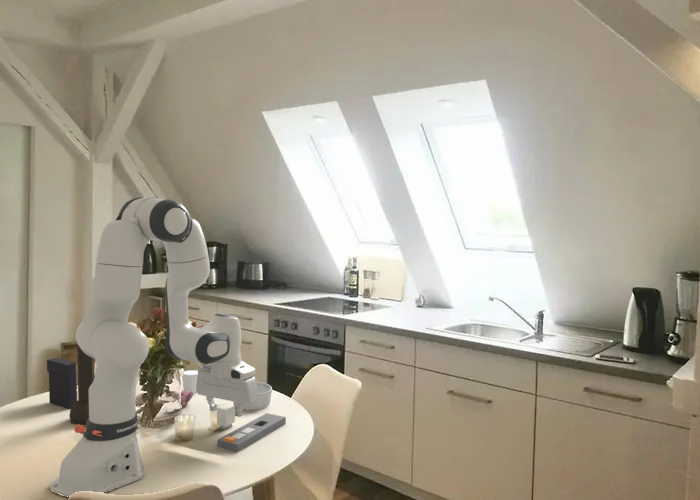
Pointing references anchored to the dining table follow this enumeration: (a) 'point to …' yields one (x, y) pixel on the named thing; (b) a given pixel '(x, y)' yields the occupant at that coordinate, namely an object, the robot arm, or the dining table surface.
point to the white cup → (190, 380)
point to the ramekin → (259, 397)
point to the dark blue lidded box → (62, 382)
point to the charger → (225, 416)
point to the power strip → (251, 432)
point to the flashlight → (82, 388)
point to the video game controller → (186, 397)
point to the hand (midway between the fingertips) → (225, 413)
